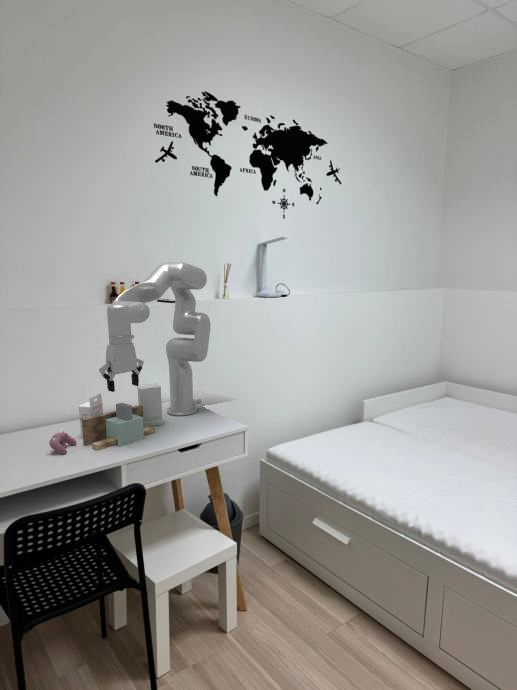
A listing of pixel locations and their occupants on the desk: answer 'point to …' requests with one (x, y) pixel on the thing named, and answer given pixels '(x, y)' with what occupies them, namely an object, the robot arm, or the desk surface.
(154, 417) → the skincare box
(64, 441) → the video game controller
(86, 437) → the curved brown board
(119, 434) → the mint green block
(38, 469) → the desk surface
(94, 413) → the ink cartridge box
